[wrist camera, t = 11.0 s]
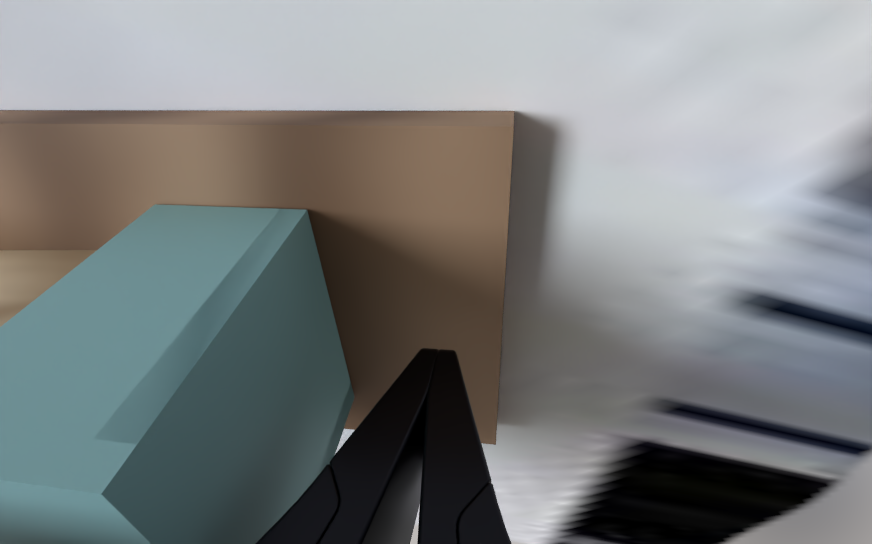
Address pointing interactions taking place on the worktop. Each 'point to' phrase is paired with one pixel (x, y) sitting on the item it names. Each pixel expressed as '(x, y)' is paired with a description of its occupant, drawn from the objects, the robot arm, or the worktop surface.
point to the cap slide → (172, 384)
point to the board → (308, 190)
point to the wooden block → (32, 275)
